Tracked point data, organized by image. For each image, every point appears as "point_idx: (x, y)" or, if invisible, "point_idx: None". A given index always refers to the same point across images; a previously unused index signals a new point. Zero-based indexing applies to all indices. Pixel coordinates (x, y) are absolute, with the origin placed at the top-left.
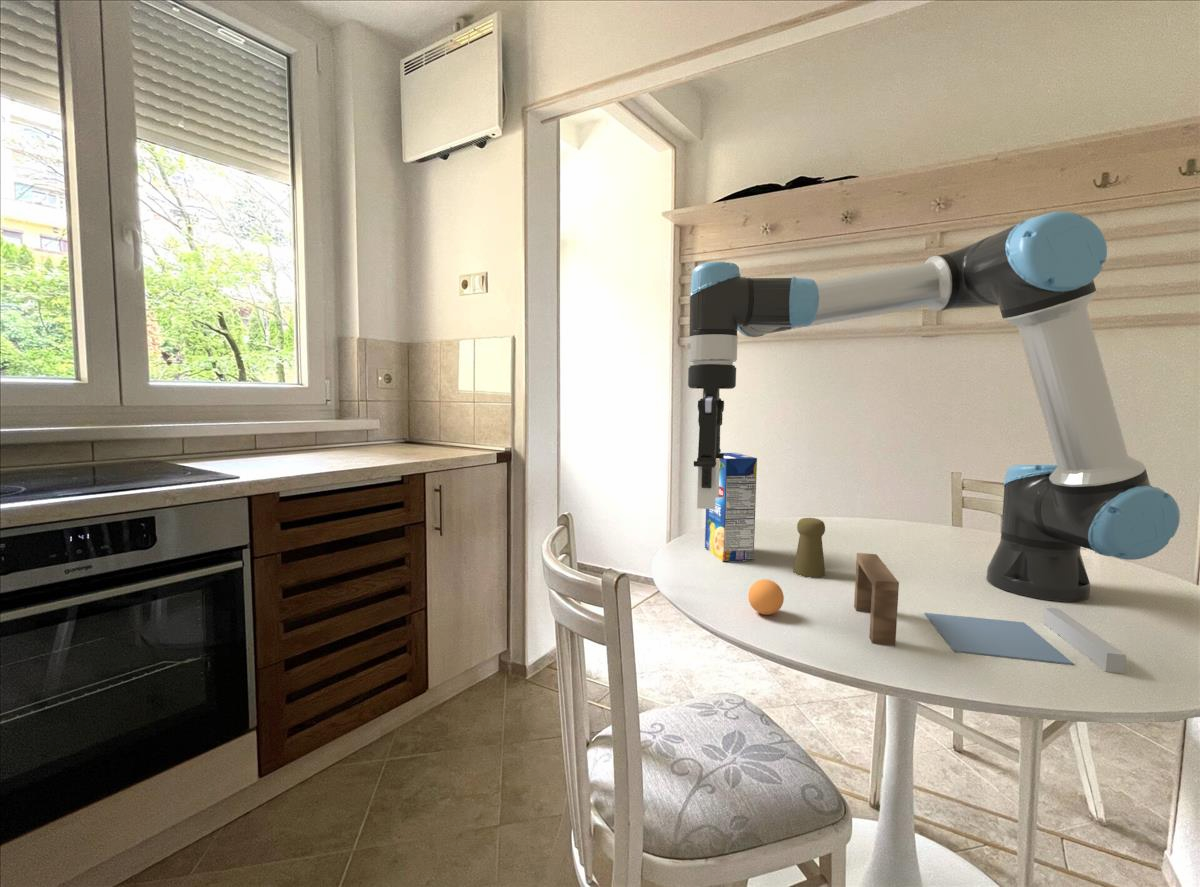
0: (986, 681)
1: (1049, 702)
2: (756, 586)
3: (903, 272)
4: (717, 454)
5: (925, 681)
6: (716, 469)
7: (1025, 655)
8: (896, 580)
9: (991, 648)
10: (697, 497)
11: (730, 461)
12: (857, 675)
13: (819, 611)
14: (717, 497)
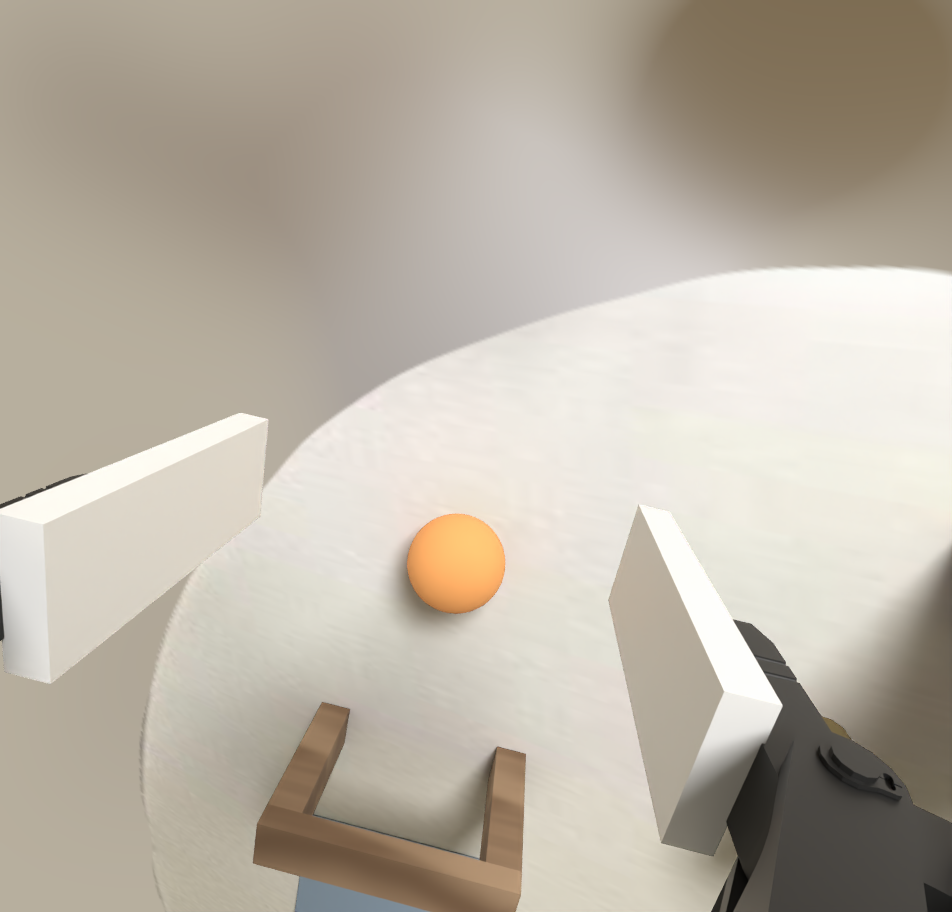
0: (208, 796)
1: (163, 833)
2: (433, 549)
3: None
4: (729, 897)
5: (186, 714)
6: (649, 730)
7: (307, 900)
8: (267, 865)
9: None
10: (198, 429)
11: None
12: (181, 620)
13: (488, 670)
14: (612, 595)
